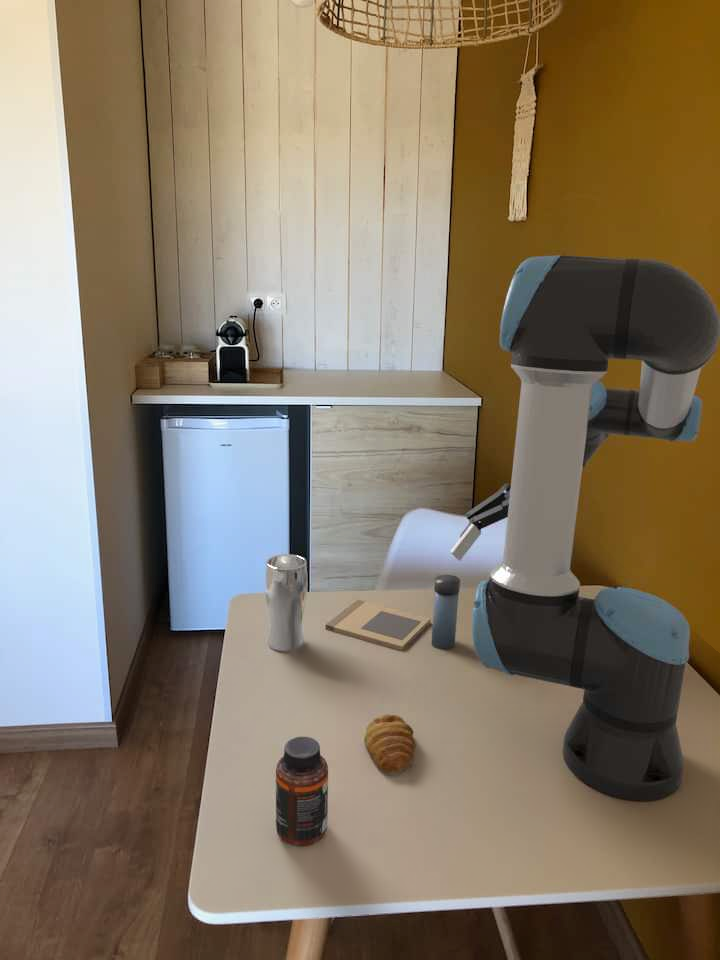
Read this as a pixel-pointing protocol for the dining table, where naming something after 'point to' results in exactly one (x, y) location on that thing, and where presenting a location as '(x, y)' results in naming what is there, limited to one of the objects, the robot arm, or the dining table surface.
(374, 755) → the pastry
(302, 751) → the supplement bottle
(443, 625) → the blue bottle
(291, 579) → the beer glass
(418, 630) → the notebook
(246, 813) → the dining table surface
